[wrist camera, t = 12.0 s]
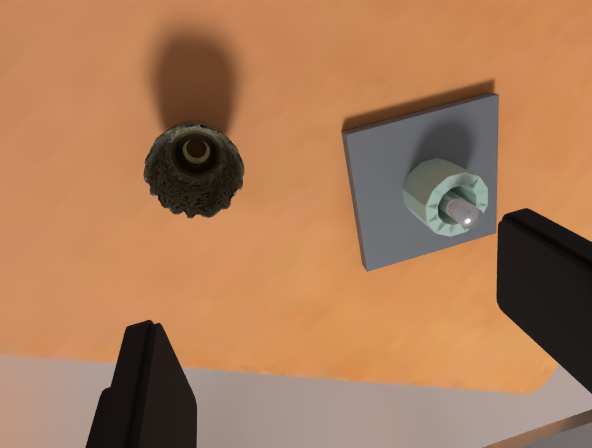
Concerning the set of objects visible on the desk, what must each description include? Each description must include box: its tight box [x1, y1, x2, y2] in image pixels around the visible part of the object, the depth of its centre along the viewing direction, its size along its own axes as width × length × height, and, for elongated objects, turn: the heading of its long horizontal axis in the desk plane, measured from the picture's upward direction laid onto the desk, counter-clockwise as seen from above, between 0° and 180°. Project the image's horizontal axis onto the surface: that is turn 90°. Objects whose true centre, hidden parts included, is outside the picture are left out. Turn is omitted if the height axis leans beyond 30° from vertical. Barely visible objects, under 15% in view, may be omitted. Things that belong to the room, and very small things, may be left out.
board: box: [342, 93, 499, 272], centre depth 44 cm, size 16×16×2 cm
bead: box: [402, 158, 488, 237], centre depth 41 cm, size 6×6×5 cm
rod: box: [438, 190, 483, 229], centre depth 40 cm, size 2×2×8 cm
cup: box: [144, 121, 244, 218], centre depth 35 cm, size 8×7×8 cm
